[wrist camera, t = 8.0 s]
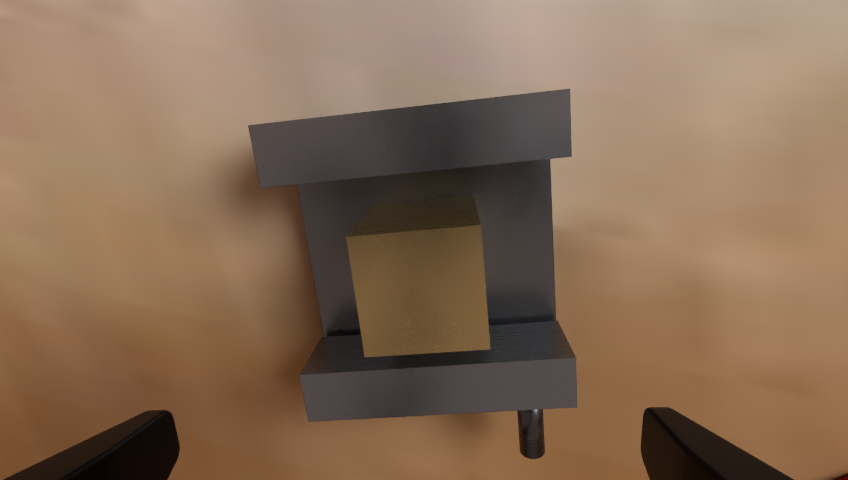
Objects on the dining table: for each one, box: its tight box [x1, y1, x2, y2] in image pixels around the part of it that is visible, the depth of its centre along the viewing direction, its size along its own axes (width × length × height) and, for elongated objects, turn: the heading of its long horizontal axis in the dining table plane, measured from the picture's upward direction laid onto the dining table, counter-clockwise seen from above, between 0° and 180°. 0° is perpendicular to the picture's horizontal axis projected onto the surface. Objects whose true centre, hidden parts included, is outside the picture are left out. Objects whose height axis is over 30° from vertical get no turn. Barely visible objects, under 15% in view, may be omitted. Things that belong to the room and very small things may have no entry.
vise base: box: [248, 89, 572, 337], centre depth 18 cm, size 12×10×5 cm
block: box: [346, 196, 490, 357], centre depth 16 cm, size 4×4×5 cm
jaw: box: [299, 321, 577, 459], centre depth 19 cm, size 5×10×3 cm, turn 96°
